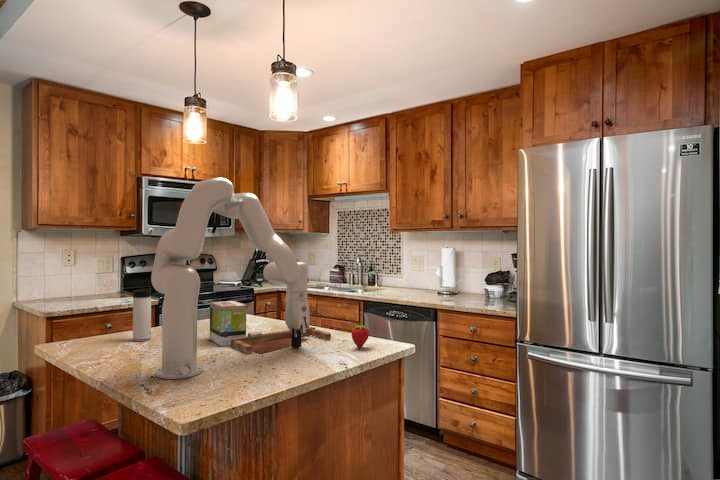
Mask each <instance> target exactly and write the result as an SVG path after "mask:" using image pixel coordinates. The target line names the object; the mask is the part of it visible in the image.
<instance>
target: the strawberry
mask: <svg viewBox="0 0 720 480" xmlns="http://www.w3.org/2000/svg"><path fill="white" fill-rule="evenodd" d="M366 327H367V325H363V324H362V325H361V324H358V325H354V326H353V329H352V330H351V334H350V335H351V338H352V341H353V343H354V345H356V346H357V348H358V349H359V348H361V349H362V348H363V346H364V345H365V344H366V342H367V341H368V339H369V336H370V331H369V329H368V328H366Z"/></svg>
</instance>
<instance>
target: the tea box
mask: <svg viewBox="0 0 720 480" xmlns="http://www.w3.org/2000/svg"><path fill="white" fill-rule="evenodd" d="M247 307H248V306H247V304H245V303H243V302H239V301H236V300H227V301H226V300H225V301H212V302H211V301H210V303H209V339H210V340H211V341H213V342H214V343H216V344H217V345H218V346H220V347H227V346H231V338H238V337H245V336H247V312H248V311H247Z"/></svg>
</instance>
